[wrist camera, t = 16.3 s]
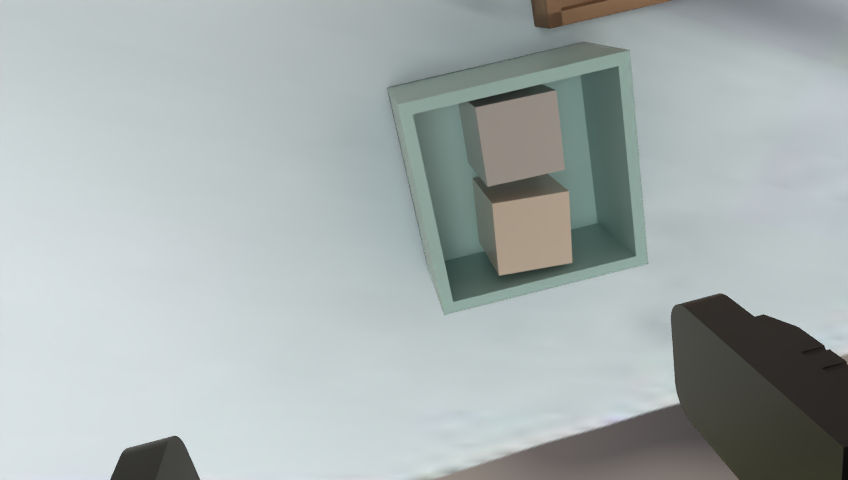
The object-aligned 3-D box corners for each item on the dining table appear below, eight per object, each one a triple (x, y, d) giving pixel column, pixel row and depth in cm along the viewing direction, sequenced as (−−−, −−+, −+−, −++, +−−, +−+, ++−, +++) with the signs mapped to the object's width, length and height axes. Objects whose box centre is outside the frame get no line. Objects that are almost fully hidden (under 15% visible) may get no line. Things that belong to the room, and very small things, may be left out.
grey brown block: (456, 92, 36) (475, 107, 31) (527, 77, 36) (556, 90, 31) (468, 162, 37) (487, 186, 32) (536, 148, 37) (564, 169, 33)
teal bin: (387, 87, 36) (397, 104, 30) (583, 41, 36) (629, 50, 31) (428, 270, 40) (444, 314, 34) (604, 226, 40) (648, 263, 35)
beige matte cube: (472, 178, 37) (492, 203, 33) (539, 167, 38) (569, 191, 33) (478, 242, 39) (498, 275, 34) (544, 231, 39) (572, 262, 35)
